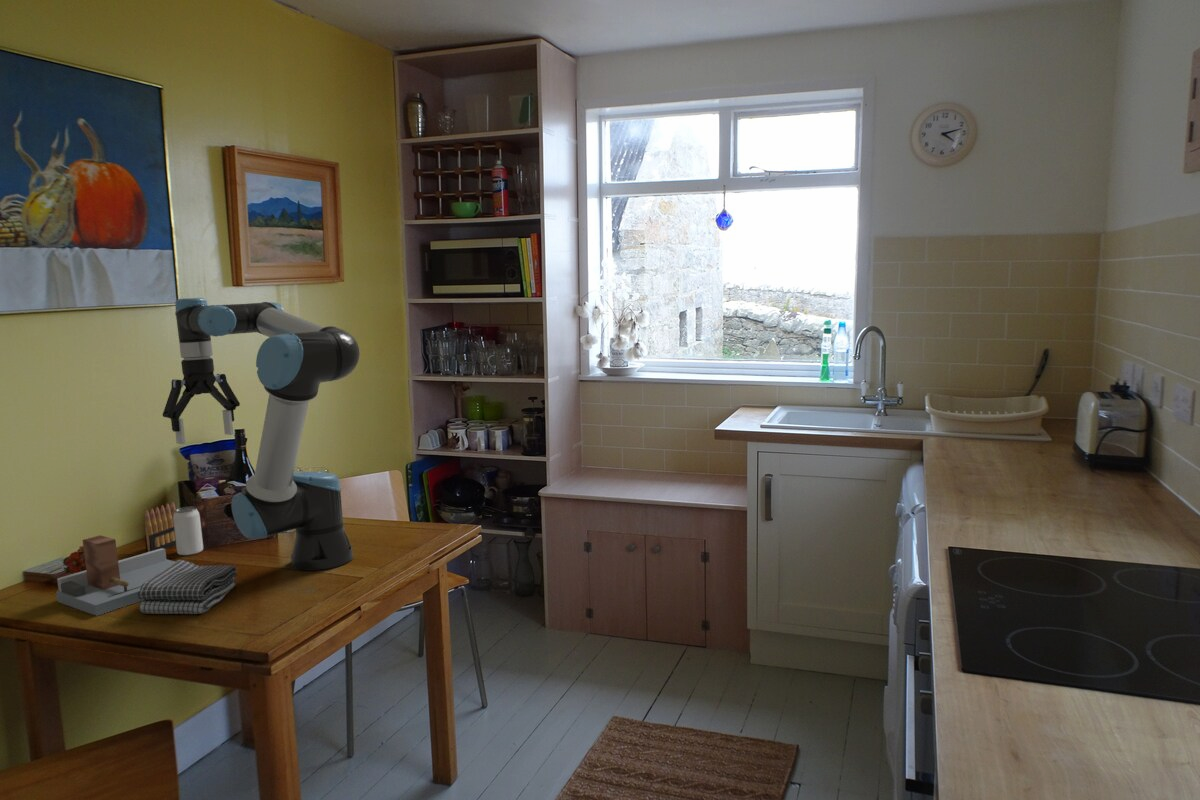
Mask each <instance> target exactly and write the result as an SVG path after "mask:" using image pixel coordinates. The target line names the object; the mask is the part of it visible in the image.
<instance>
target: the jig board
mask: <svg viewBox="0 0 1200 800" xmlns="http://www.w3.org/2000/svg"><path fill="white" fill-rule="evenodd" d="M166 553H167V551H166V548H165V549H163V548H161V549H157V550H154V551H150V552H147V553H146V552H143V553H141V554H138V555H134V556H131V557H127V558H122V559H118V565H119V573H120V580H123V581H126V582H128V583H129V585H128V586H127V591H124V586H121V585H118V586H114V587H111V588H108V589H105V590H102V589H99V588H96V587H93V586H90V585H88V579H87V571H86V570H85V571H82V572H78V573H76V572H75V573H73V574H71V573H70V574H69V575H65V576H61V577H58V578H57V579H56V580H57V587H58V588H57V589H58V590H57V591H56V593H55V594H56V601H57V603H60V604H63V605H65V606H68V607H72V608H74V609H76V610H79V611H82V612H85V613H87V614H90V615H94V616H95V615H96V616H95V617H98V615H99V616H101V614H102V615H104V613H105V614H107V612H108V613H110V611H111V612H113V610H114V611H116V609H117V610H119V609H118V608H120V609H122V608H121V607H123V608H125V606H126V607H128V606H127V605H129V606H131V605H130V604H132V605H134V603H135V604H137V602H138V603H141V602H142V601H143V600H144V599H143V600H142V599H139V598H138V592H139V591H140V588H141V587H142V585H143V584H144V583H145V582H146V581H147V580H149V579H151V578H153V577H154V576H155V575H157V574H158V573H160V572H162V571H163V570H165V569H167V568H168V567H170V566H171V565H172V564H174V563H175V562H176V561H174V560H170V559H167V554H166ZM140 601H141V602H140Z"/></svg>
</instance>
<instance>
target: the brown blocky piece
mask: <svg viewBox="0 0 1200 800" xmlns="http://www.w3.org/2000/svg"><path fill="white" fill-rule="evenodd" d="M82 546H83V548H84V556H85V563H86V571H87V579H88V585H90V586H93V587H96V588H99V589H102V590H105V589H108V588H111V587H114V586H118V585H121V586H124V591H127V586H128V585H129V583H128V582H126V581H123V580H120V573H119V565H118V561H119V558H118V557H119V556H118V551H117V542H116V539H115V538H113V537H107V536H104V535H97V536H96V535H95V536H92V537H88V538H85V539H84V538H83V539H82Z"/></svg>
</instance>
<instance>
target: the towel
mask: <svg viewBox="0 0 1200 800" xmlns="http://www.w3.org/2000/svg"><path fill="white" fill-rule="evenodd" d="M236 571H237V567H236V565H234V564H233V565H224V564H222V565H219V564H217V565H216V564H215V565H198V564H195V563H193V562H191V561H190V562H189V561H187V560H183V559H178V560H176V561H175V563H174V564H172V565H171V566H170V567H168V568H167V569H165V570H163V571H162V572H160V573H158V574H157V575H155V576H154V577H153V578H151V579H149V580H147V581H146V582H145V583H144V584H143V585H142V587H141V588H140V591H139V592H138V598H139V599H142V600H143V599H144V600H143V601H141V602H140V603H139V611H140V612H141V613H142V614H147V615H148V614H149V615H150V614H151V615H198V614H200V615H201V614H205V613H207V612H208V611H209V610H211V609H212V608H213V607H214V606H215V605H216V604H218V603H219V602H221V601H222V600H223V598H225V596H226V595H228V593H229V592H231V591H232V590H233V589H234V588H233V586H235V587H236V577H238V575H239V574H238V573H237V572H236ZM232 588H233V589H232ZM231 589H232V590H231ZM230 590H231V591H230ZM211 607H212V608H211Z"/></svg>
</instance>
